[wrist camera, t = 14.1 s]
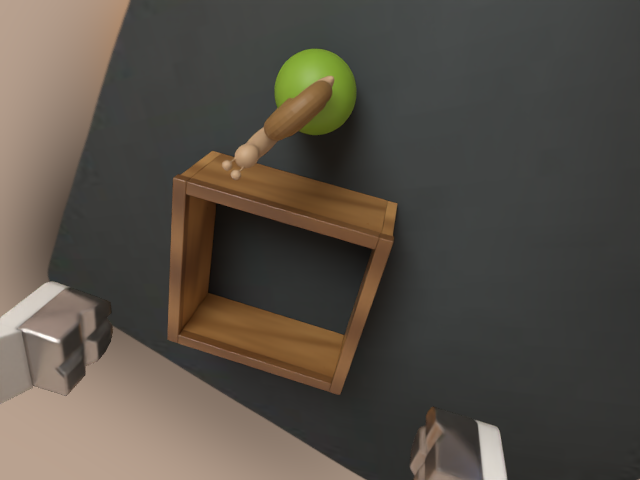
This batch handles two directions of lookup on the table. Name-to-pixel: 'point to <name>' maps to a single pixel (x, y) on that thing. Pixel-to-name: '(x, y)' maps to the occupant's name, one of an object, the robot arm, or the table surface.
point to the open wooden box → (253, 323)
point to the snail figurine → (302, 103)
